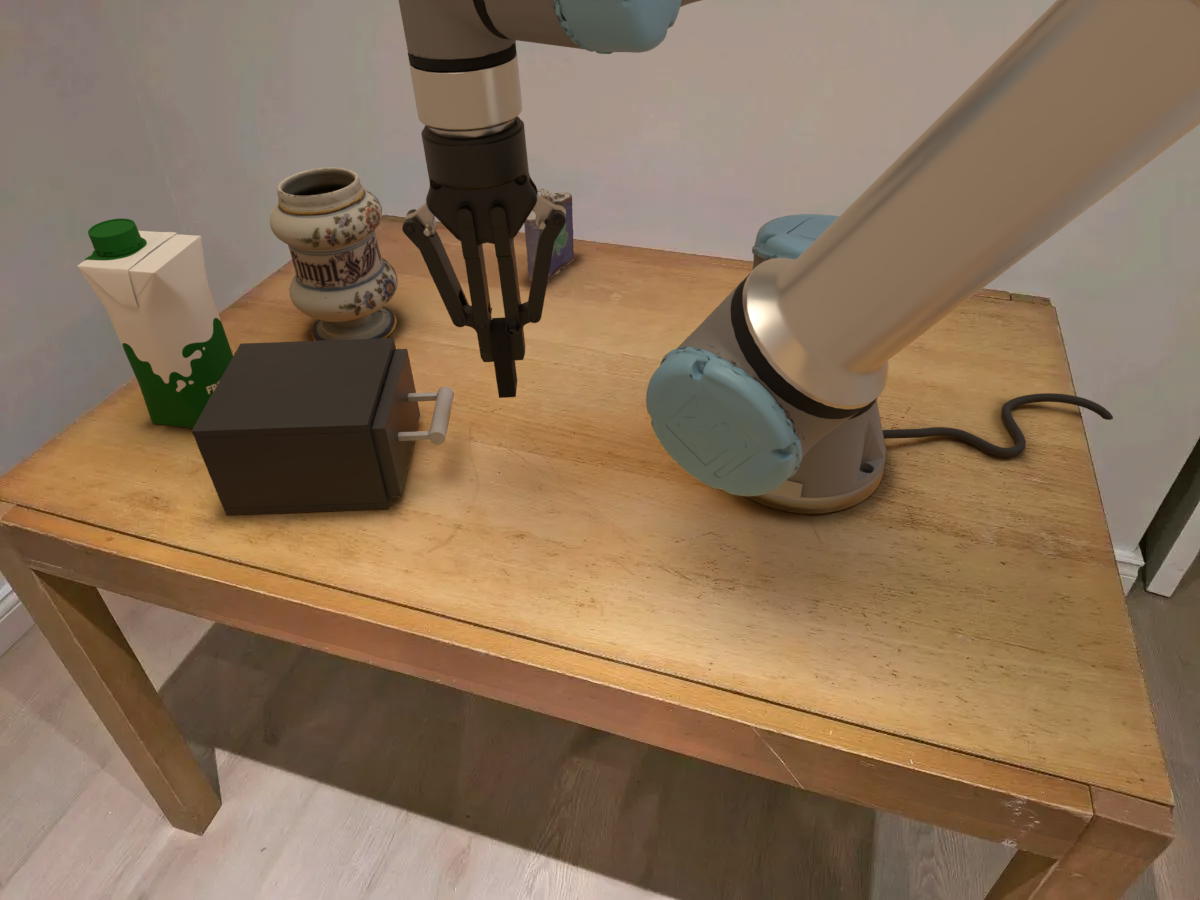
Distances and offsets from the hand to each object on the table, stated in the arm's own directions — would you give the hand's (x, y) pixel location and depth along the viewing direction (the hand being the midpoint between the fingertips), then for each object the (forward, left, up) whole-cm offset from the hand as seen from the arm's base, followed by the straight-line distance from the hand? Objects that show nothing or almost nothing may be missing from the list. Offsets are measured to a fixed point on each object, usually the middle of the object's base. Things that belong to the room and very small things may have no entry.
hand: (508, 388), depth 78 cm
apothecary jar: (+20, -25, -8) cm, 34 cm away
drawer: (+15, 0, -7) cm, 16 cm away
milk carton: (+33, -10, -8) cm, 36 cm away
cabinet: (+18, 0, -8) cm, 20 cm away
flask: (-3, -38, -8) cm, 39 cm away
